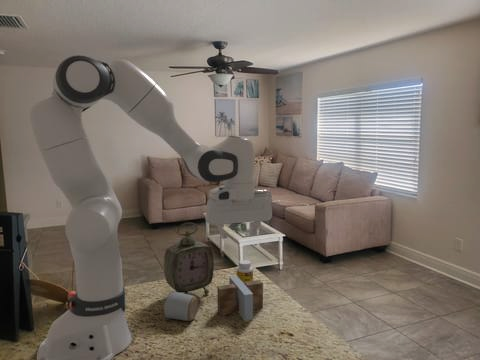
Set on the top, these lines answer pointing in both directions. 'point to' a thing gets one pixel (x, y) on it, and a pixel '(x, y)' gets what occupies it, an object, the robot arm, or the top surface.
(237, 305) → the walnut board
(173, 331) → the top surface
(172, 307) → the ceramic mug
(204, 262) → the tabletop clock
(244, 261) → the supplement bottle
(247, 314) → the slate board
